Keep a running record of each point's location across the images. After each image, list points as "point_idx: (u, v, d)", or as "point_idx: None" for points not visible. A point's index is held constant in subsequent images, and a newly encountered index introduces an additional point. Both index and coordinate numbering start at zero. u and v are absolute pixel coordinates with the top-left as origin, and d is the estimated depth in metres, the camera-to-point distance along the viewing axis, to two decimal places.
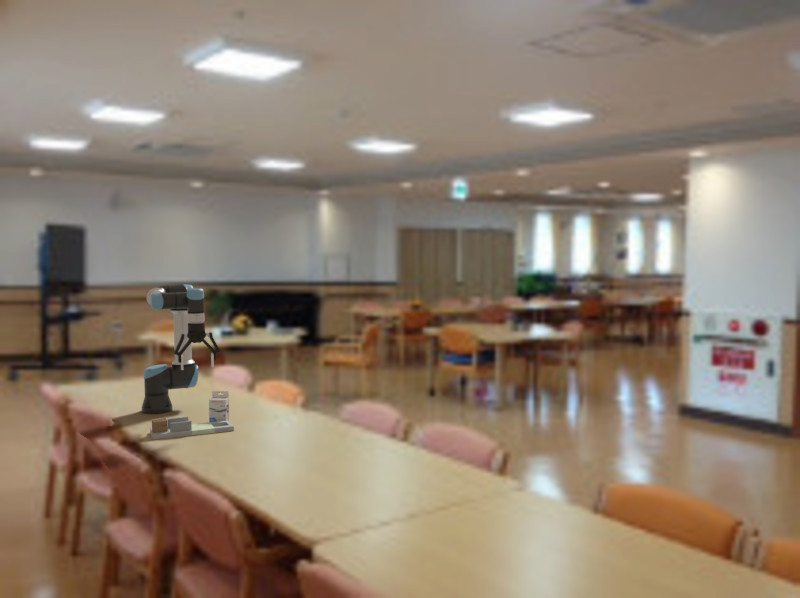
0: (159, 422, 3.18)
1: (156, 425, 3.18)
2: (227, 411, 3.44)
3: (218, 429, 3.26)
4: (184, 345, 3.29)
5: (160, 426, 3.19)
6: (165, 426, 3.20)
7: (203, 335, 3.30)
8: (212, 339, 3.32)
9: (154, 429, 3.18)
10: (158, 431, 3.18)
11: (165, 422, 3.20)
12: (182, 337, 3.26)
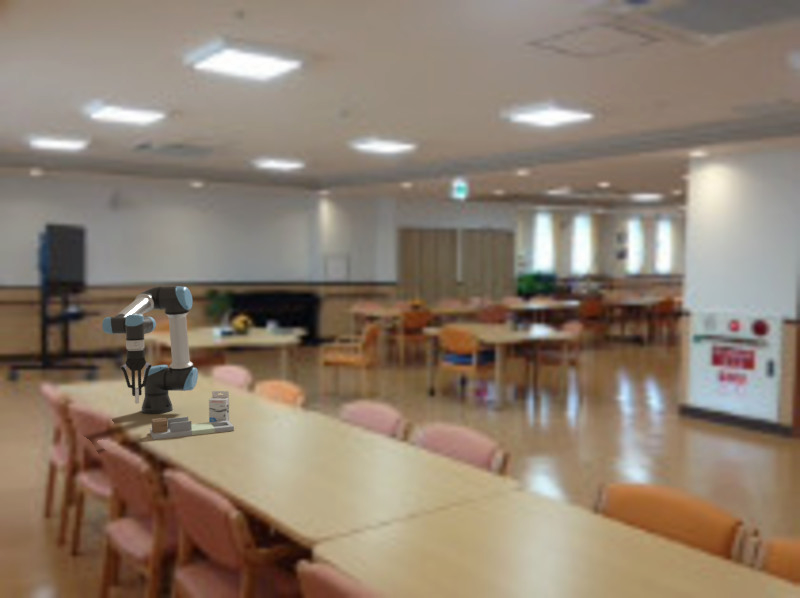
0: (159, 422, 3.18)
1: (156, 425, 3.18)
2: (227, 411, 3.44)
3: (218, 429, 3.26)
4: None
5: (160, 426, 3.19)
6: (165, 426, 3.20)
7: (142, 362, 3.16)
8: (147, 371, 3.17)
9: (154, 429, 3.18)
10: (158, 431, 3.18)
11: (165, 422, 3.20)
12: (123, 369, 3.13)
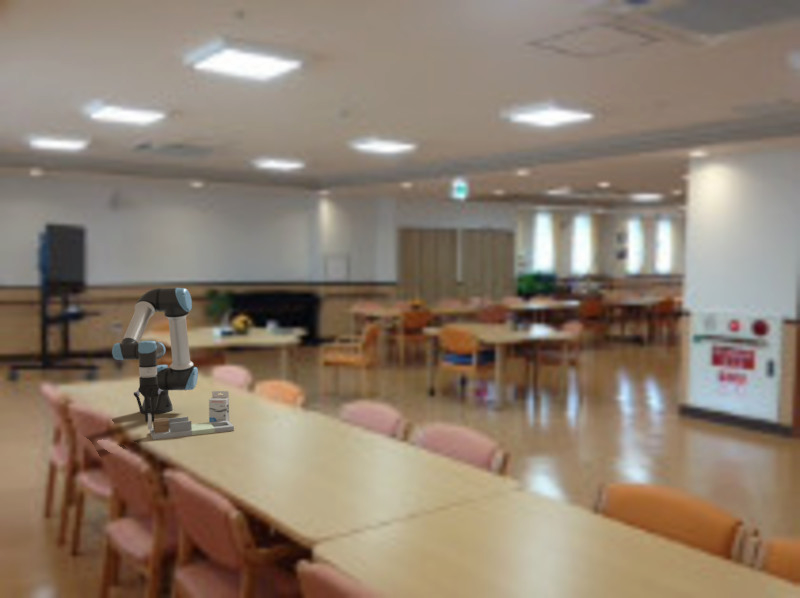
0: (160, 422, 3.19)
1: (157, 425, 3.18)
2: (227, 411, 3.44)
3: (218, 429, 3.26)
4: (144, 403, 3.19)
5: (161, 426, 3.19)
6: (166, 426, 3.20)
7: (155, 389, 3.19)
8: (159, 398, 3.20)
9: (155, 429, 3.18)
10: (159, 431, 3.19)
11: (166, 422, 3.20)
12: (136, 396, 3.16)
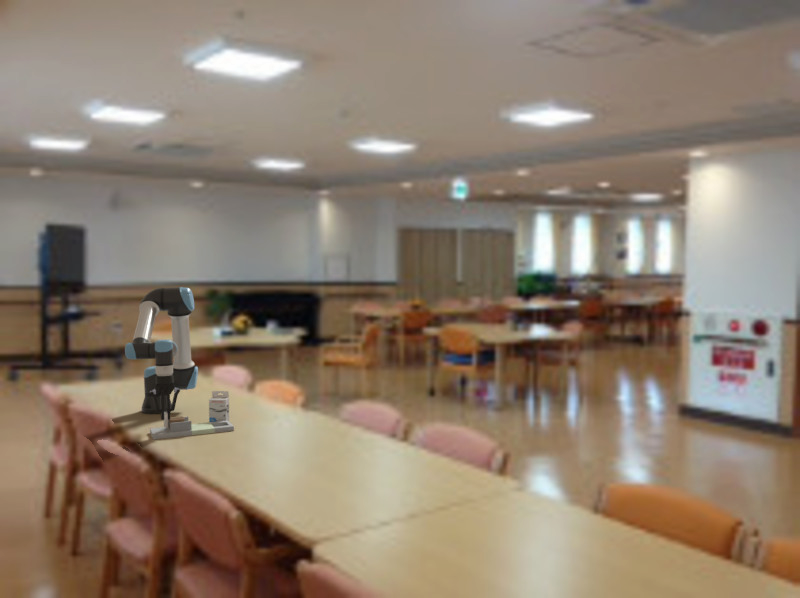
0: (176, 420, 3.21)
1: None
2: (227, 411, 3.44)
3: (218, 429, 3.26)
4: None
5: None
6: None
7: (171, 387, 3.22)
8: (175, 396, 3.22)
9: None
10: None
11: (182, 420, 3.22)
12: (152, 394, 3.18)
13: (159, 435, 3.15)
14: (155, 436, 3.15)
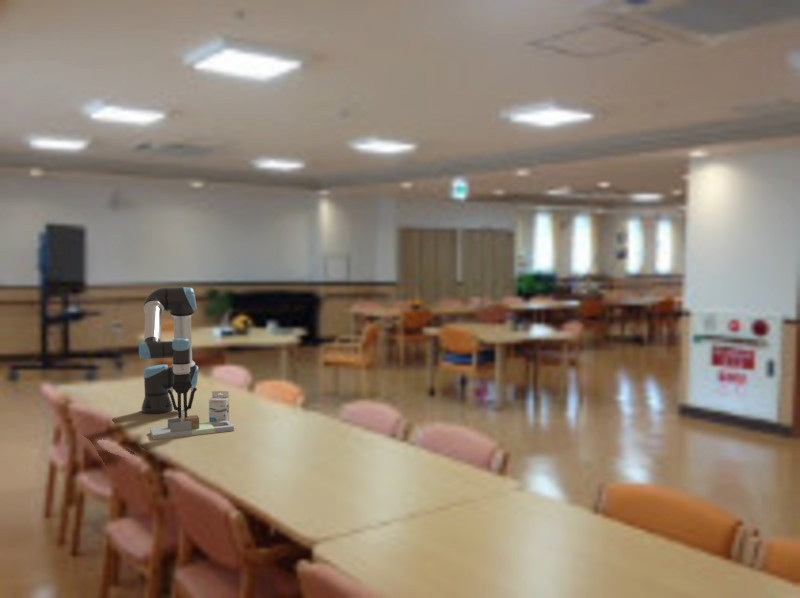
0: (191, 419, 3.24)
1: None
2: (227, 411, 3.44)
3: (218, 429, 3.26)
4: None
5: (192, 423, 3.24)
6: (197, 423, 3.25)
7: (188, 385, 3.25)
8: (192, 394, 3.25)
9: None
10: None
11: (197, 419, 3.25)
12: (170, 393, 3.21)
13: (159, 435, 3.15)
14: (155, 436, 3.15)
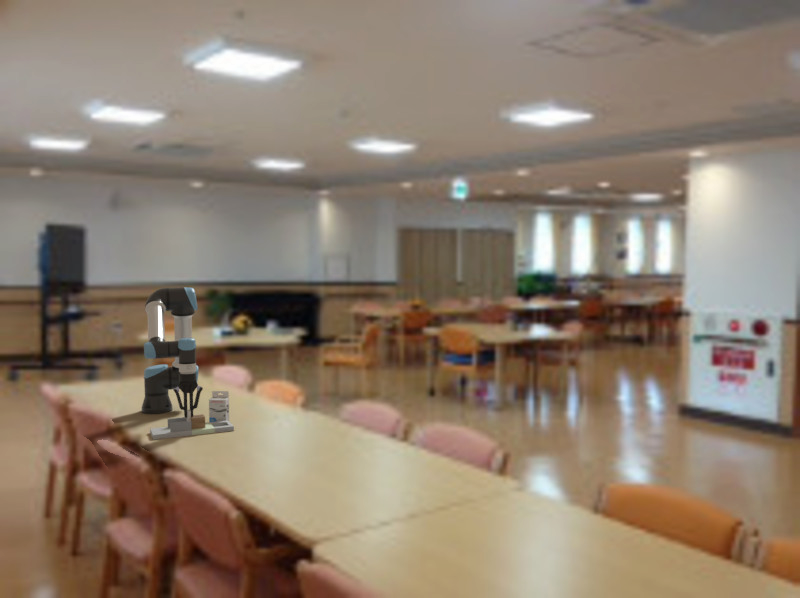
0: (197, 418, 3.25)
1: (194, 421, 3.24)
2: (227, 411, 3.44)
3: (218, 429, 3.26)
4: None
5: (198, 422, 3.25)
6: (203, 422, 3.26)
7: (194, 385, 3.26)
8: (198, 394, 3.27)
9: (192, 425, 3.24)
10: (196, 427, 3.25)
11: (203, 418, 3.26)
12: (176, 392, 3.22)
13: (159, 435, 3.15)
14: (155, 436, 3.15)
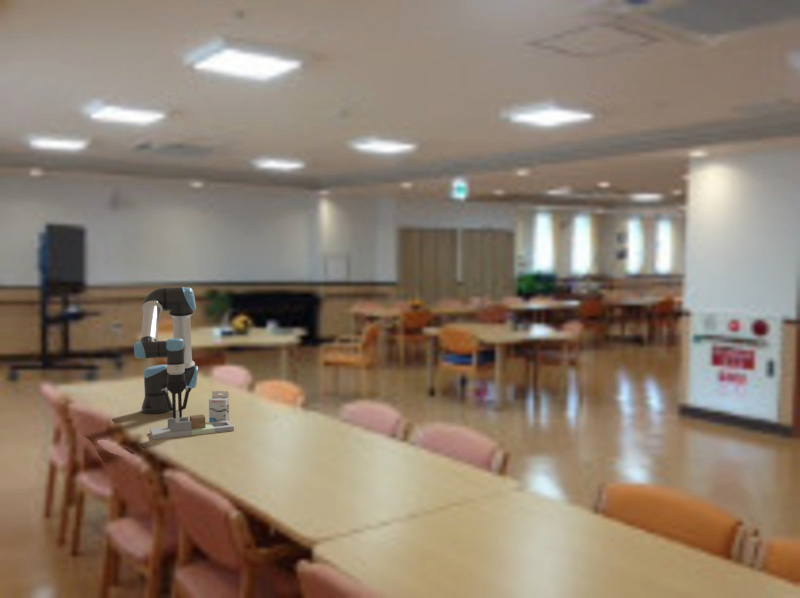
0: (197, 418, 3.25)
1: (194, 421, 3.24)
2: (227, 411, 3.44)
3: (218, 429, 3.26)
4: (172, 399, 3.24)
5: (198, 422, 3.25)
6: (203, 422, 3.26)
7: (183, 385, 3.24)
8: (187, 394, 3.25)
9: (192, 425, 3.24)
10: (196, 427, 3.25)
11: (203, 418, 3.26)
12: (164, 393, 3.20)
13: (159, 435, 3.15)
14: (155, 436, 3.15)
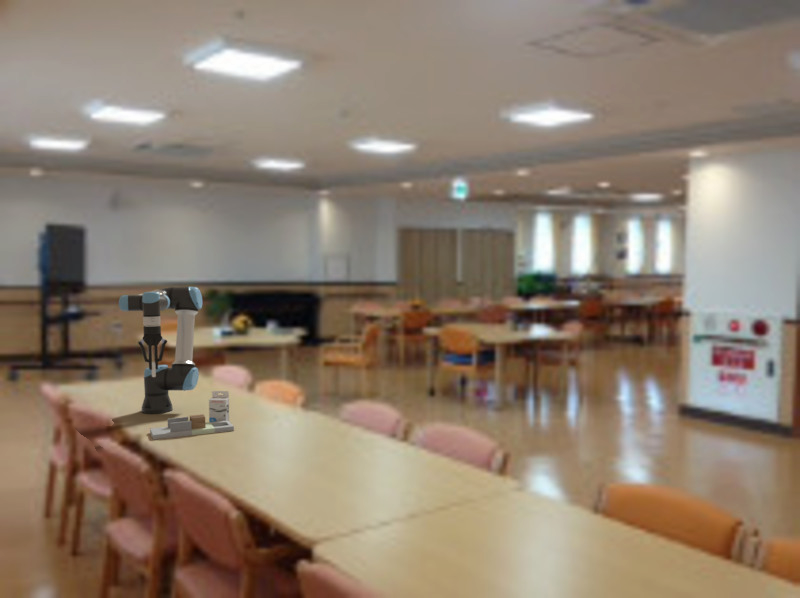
0: (197, 418, 3.25)
1: (194, 421, 3.24)
2: (227, 411, 3.44)
3: (218, 429, 3.26)
4: (148, 351, 3.31)
5: (198, 422, 3.25)
6: (203, 422, 3.26)
7: (159, 338, 3.31)
8: (163, 346, 3.32)
9: (192, 425, 3.24)
10: (196, 427, 3.25)
11: (203, 418, 3.26)
12: (140, 344, 3.28)
13: (159, 435, 3.15)
14: (155, 436, 3.15)
